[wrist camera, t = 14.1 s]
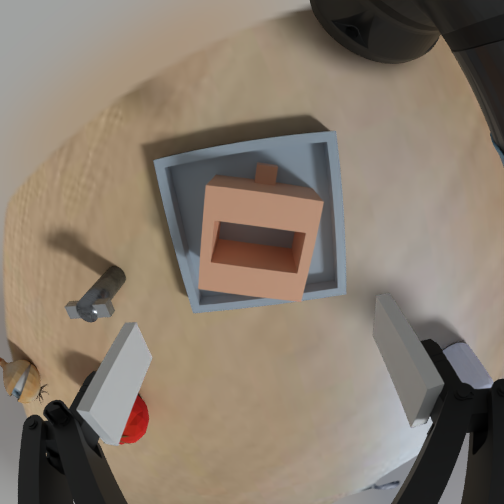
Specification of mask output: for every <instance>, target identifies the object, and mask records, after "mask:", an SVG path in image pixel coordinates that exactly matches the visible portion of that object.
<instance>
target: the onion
mask: <svg viewBox="0 0 504 504" xmlns="http://www.w3.org/2000/svg"><path fill="white" fill-rule="evenodd" d="M0 366H1V367H2V368H3V380H4V386H5V389H6V391H7V392H8V394H9V395H10V396H11V395H12V394H13V395H14V396H15V397H17V398H18V402H21V403H30V402H31V401H33V400H34V399H35V398H36V397H38V395H39V400H40V397H41V398H42V395H41V393H43V392H45V391H43V392H41V393H40V391H42V389H43V388H44V387H45V386H46V385H48V384H46V385H45V386H42V387H43V388H42V387H40V375H39V372H38V370H37V369H36V367H35V366H33V365H32V364H31V363H30V362H28V361H26V360H17V361H14V362H10V363H7V362H5V361H4V359H2V358H0ZM40 388H41V389H40ZM47 392H48V391H47ZM47 392H46V393H47ZM40 395H41V396H40ZM36 399H37V398H36ZM42 400H43V398H42ZM34 401H35V400H34ZM40 403H41V402H40Z"/></svg>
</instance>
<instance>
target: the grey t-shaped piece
mask: <svg viewBox="0 0 504 504" xmlns="http://www.w3.org/2000/svg"><path fill="white" fill-rule="evenodd" d="M125 280H126V277H125V274H124V272H123V271H122V270H121V269H120V268H119V267H116V266H112V267H110V268H109V269H108V270H107V271H106V272H105V273H104V274H103V275H102V276H101V277H100V278H99V279H98V280H97V282H96V283H95V284H94V285H93V286H92V287H91V288H90V289H89V290H88V291H87V293H86V294H85V295H84V296H83V297H82V298H81V299H80V300H79V301H69V303H68V304H67V305H66V306H65V308H66V311H67V313H68V315H69V317H70V319H72V318H82V319H83V320H85V321H87V322H95V321H96V320H97V318H99V317H111V316H112V314H113V313H114V311H115V309H114V307H113V305H112V302H111V299H112V298H113V297H114V296H115V294H116V293H117V292H118V290H119V289H120V288H121V286H122V285H123V284H124V283H125Z"/></svg>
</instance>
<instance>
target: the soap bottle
mask: <svg viewBox="0 0 504 504" xmlns="http://www.w3.org/2000/svg"><path fill="white" fill-rule="evenodd" d="M443 354H445V356H446V357H447V360H449V362H450V364H451V365H452V367H453V368H454V370H455V372H456V373H457V375H458V377H459V378H460V380H461V381H462V382H463V383H467V384H470V385H471V386H472V387H473V388H474V389H483V388H491V386H492V385H493V380H492V378H491V377H490V375H489V374H488V372H487V371H486V369H485V368H484V366H483V365H482V364H481V362H480V361H479V359H478V358H477V356H476V355H475V354H474V352H473V351H472V349H471V348H470V347H469V345H467V344H465V343H463V342H461V343H455V344H453V345H451V346H449V347H447V348H446V349H444V350H443Z"/></svg>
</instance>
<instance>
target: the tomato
mask: <svg viewBox="0 0 504 504" xmlns="http://www.w3.org/2000/svg"><path fill="white" fill-rule="evenodd" d="M148 422H149V414H148V409H147V406H146V404H145V402H144V401H143V400H142V399H141V398H140V397H139V396H138V395H137V397H136V400H135V402H134V405H133V407H132V410H131V412H130V415H129V418H128V420H127V423H126V426H125V428H124V431H123V434H122V436H121V439H120V442H119V444H124V443H127V444H129V443H134V442H136V441H138V440H139V439H140V438H141V437H142V436H143V435H144V434H145V433H146V429H147V426H148Z"/></svg>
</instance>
